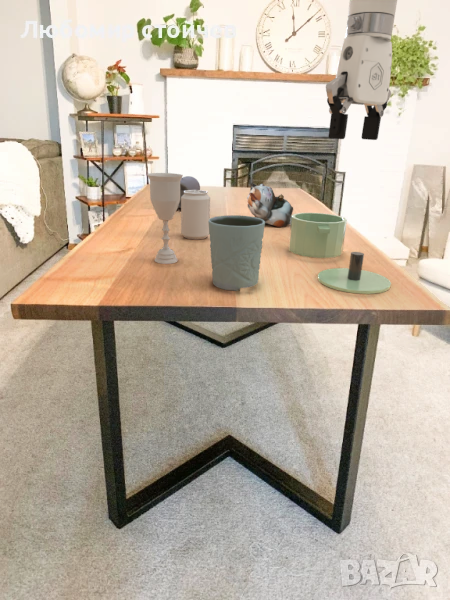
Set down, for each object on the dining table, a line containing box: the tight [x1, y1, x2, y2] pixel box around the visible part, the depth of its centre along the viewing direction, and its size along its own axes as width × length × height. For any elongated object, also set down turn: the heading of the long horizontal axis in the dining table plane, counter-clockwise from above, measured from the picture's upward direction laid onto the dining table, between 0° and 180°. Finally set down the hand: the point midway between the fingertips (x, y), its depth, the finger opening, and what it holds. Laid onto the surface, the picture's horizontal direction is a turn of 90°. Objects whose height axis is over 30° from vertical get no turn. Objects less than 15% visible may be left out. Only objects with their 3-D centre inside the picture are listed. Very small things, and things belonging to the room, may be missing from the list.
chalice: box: [146, 172, 184, 265], centre depth 93 cm, size 7×7×18 cm
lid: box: [317, 251, 392, 295], centre depth 84 cm, size 14×14×6 cm
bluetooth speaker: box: [177, 176, 201, 209], centre depth 160 cm, size 23×9×10 cm, turn 174°
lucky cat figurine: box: [246, 182, 294, 228], centre depth 135 cm, size 15×12×14 cm
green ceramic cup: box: [208, 214, 266, 292], centre depth 81 cm, size 10×10×12 cm
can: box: [180, 189, 211, 240], centre depth 115 cm, size 8×8×12 cm
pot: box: [287, 212, 348, 259], centre depth 105 cm, size 13×18×8 cm
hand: (353, 139), depth 80 cm, fingers open, 9 cm apart
